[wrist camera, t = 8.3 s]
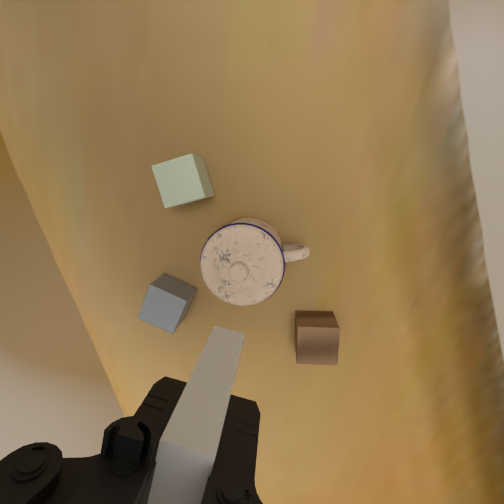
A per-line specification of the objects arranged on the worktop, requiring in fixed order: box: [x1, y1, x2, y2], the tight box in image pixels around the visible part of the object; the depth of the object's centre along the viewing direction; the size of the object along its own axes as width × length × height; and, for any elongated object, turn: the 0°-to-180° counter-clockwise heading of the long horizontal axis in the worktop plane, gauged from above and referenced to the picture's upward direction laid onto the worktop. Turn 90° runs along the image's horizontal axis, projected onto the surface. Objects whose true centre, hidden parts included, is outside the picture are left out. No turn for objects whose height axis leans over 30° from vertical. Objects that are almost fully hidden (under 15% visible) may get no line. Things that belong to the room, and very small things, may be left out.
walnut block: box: [295, 311, 339, 365], centre depth 39 cm, size 5×5×5 cm
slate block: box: [137, 274, 197, 334], centre depth 40 cm, size 5×5×5 cm
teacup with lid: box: [200, 218, 310, 306], centre depth 34 cm, size 12×9×12 cm
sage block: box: [151, 153, 214, 208], centre depth 37 cm, size 5×5×5 cm
